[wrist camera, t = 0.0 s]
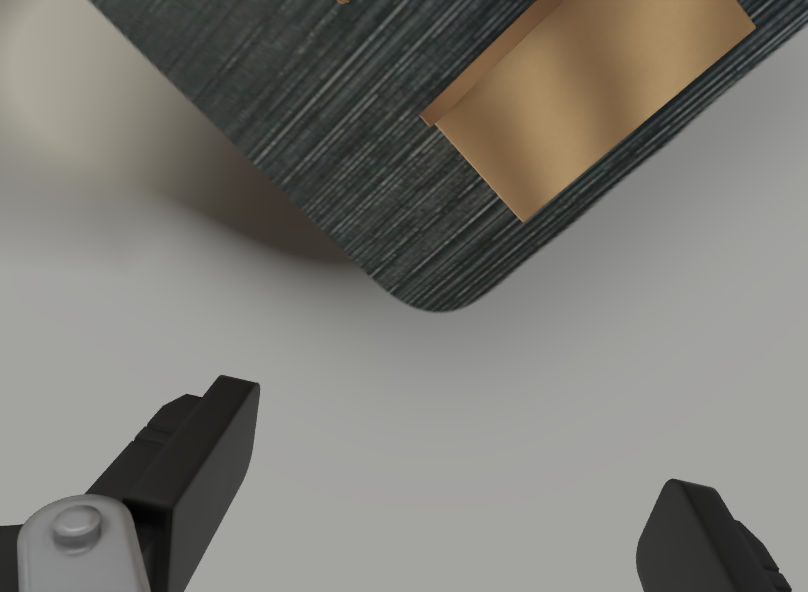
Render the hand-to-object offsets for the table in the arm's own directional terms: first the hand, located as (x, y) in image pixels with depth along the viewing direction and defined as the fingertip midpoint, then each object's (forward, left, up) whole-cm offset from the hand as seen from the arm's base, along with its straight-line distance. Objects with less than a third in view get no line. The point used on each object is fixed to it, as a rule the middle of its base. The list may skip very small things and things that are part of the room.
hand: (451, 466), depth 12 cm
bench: (-8, +4, -29) cm, 31 cm away
